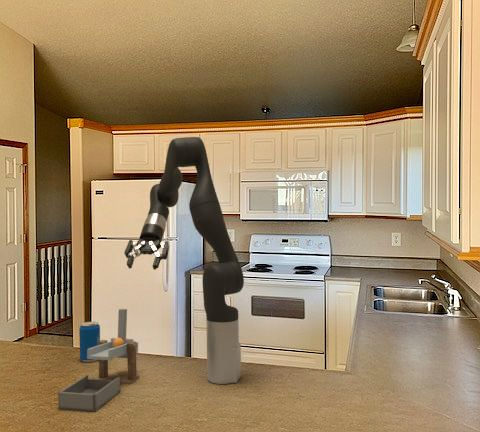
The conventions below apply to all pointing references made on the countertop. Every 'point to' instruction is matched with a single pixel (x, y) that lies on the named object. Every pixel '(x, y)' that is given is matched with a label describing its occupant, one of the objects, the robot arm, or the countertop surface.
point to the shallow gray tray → (88, 394)
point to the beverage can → (88, 338)
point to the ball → (118, 342)
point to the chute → (107, 349)
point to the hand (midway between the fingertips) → (141, 267)
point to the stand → (130, 361)
